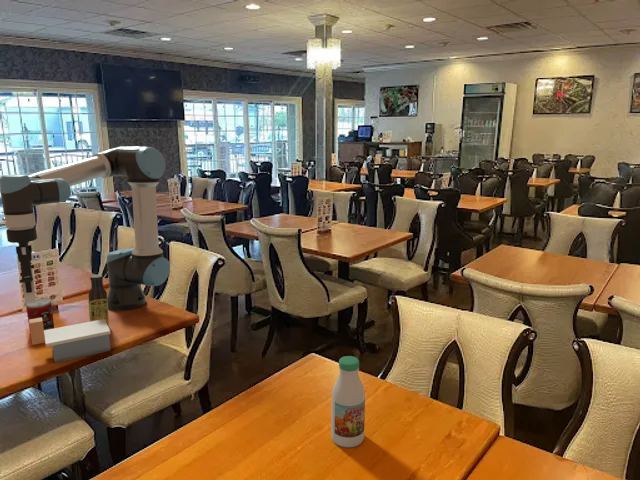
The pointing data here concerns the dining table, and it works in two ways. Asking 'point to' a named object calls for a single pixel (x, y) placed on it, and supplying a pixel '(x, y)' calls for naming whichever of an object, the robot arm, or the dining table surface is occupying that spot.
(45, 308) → the canned food
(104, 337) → the tub
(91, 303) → the sauce bottle
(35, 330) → the lid
